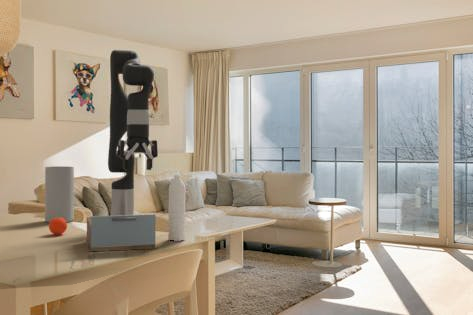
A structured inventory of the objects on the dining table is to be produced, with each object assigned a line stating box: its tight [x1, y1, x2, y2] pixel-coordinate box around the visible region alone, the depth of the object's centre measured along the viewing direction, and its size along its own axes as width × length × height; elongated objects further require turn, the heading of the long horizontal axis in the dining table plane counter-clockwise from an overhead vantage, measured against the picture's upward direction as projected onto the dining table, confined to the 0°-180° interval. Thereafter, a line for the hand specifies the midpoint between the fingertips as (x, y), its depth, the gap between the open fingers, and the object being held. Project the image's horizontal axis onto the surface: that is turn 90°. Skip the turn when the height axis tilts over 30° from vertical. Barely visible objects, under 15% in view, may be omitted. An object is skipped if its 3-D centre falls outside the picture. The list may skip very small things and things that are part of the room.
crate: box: [86, 216, 156, 253], centre depth 201 cm, size 20×22×9 cm
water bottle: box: [167, 173, 192, 242], centre depth 212 cm, size 9×6×25 cm
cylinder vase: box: [44, 165, 75, 224], centre depth 257 cm, size 12×12×25 cm
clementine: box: [48, 217, 68, 236], centre depth 222 cm, size 8×7×7 cm
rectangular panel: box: [90, 213, 157, 247], centre depth 190 cm, size 2×22×10 cm, turn 108°
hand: (137, 170), depth 193 cm, fingers open, 8 cm apart
